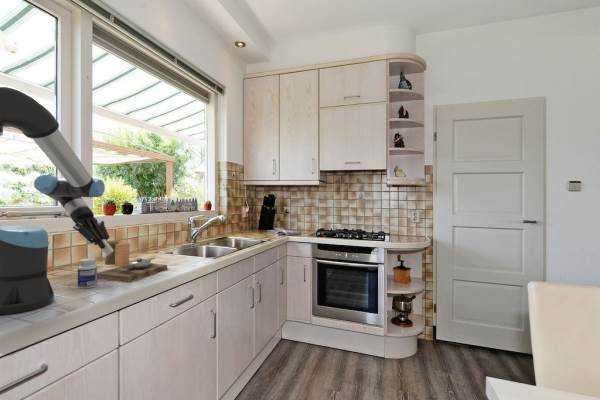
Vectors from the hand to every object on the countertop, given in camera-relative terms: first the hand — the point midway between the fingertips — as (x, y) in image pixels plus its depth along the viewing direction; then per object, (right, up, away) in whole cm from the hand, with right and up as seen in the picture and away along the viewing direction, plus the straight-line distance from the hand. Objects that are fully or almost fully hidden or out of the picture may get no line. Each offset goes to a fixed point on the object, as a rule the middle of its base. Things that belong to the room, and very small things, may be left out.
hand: (110, 253), depth 121 cm
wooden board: (+8, -9, +4) cm, 13 cm away
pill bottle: (+2, -9, -16) cm, 18 cm away
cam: (+8, -7, +6) cm, 12 cm away
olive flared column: (-13, -9, +21) cm, 26 cm away
